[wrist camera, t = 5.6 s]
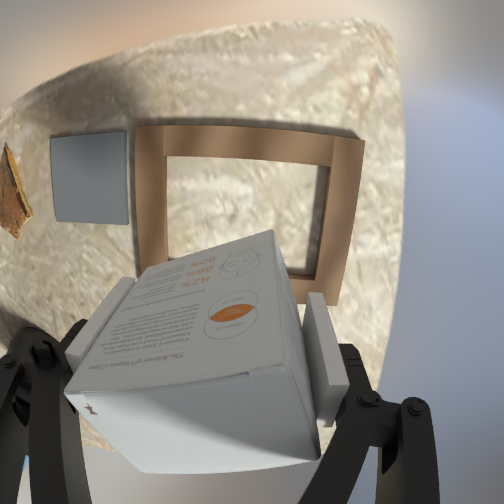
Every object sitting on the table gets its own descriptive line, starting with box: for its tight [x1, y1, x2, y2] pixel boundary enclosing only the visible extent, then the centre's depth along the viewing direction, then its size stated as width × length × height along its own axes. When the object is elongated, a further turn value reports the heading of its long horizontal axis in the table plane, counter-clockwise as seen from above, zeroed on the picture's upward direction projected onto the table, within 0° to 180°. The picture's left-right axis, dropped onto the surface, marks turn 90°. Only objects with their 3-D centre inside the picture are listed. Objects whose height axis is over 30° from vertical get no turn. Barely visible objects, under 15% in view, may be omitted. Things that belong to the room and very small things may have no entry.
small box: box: [64, 230, 321, 474], centre depth 13 cm, size 8×6×10 cm
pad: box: [50, 132, 129, 225], centre depth 30 cm, size 10×10×1 cm
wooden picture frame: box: [135, 125, 365, 306], centre depth 31 cm, size 22×18×1 cm
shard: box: [0, 147, 33, 239], centre depth 31 cm, size 11×8×2 cm
